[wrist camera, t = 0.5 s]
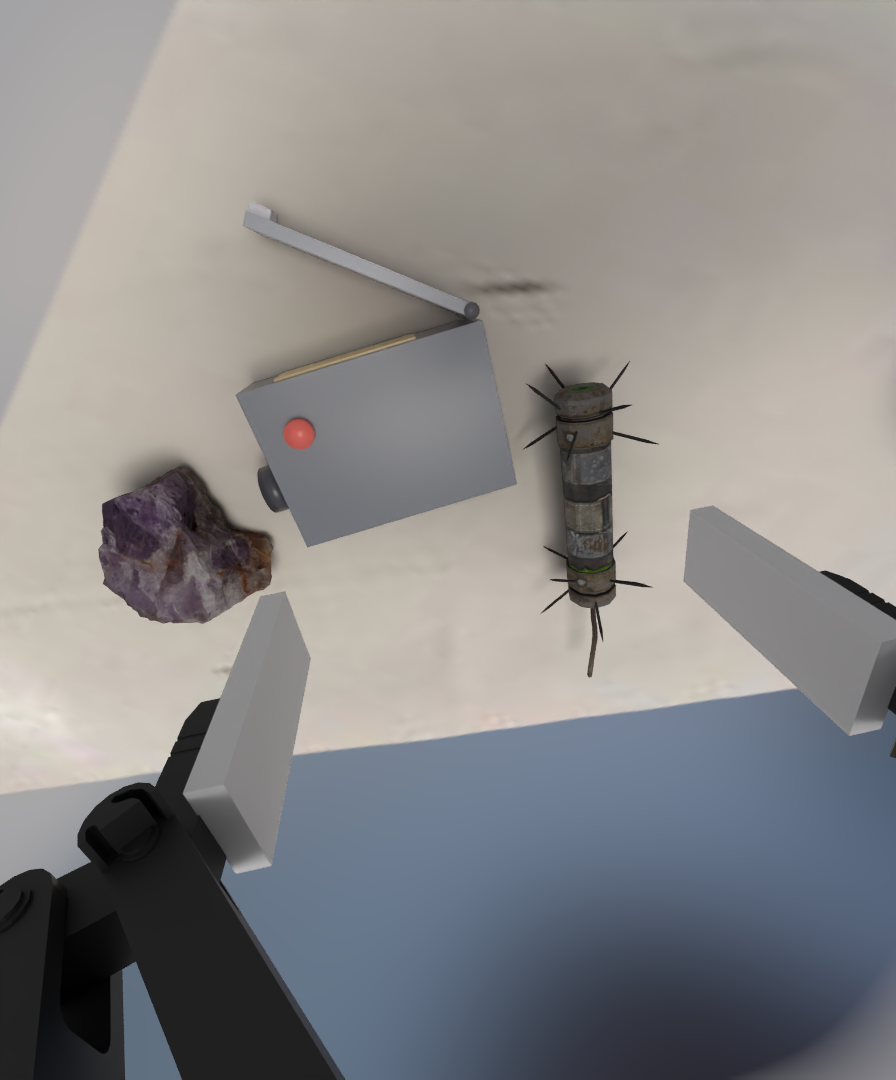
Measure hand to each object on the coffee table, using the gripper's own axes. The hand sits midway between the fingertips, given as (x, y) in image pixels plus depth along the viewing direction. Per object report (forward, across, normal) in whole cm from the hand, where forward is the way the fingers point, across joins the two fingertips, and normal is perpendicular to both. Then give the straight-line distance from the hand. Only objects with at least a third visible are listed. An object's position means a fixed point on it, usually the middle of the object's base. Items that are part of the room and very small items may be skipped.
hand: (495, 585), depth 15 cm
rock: (+26, -21, -6) cm, 34 cm away
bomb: (+26, +12, -13) cm, 32 cm away
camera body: (+26, -3, 0) cm, 26 cm away
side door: (+26, -2, +11) cm, 28 cm away
